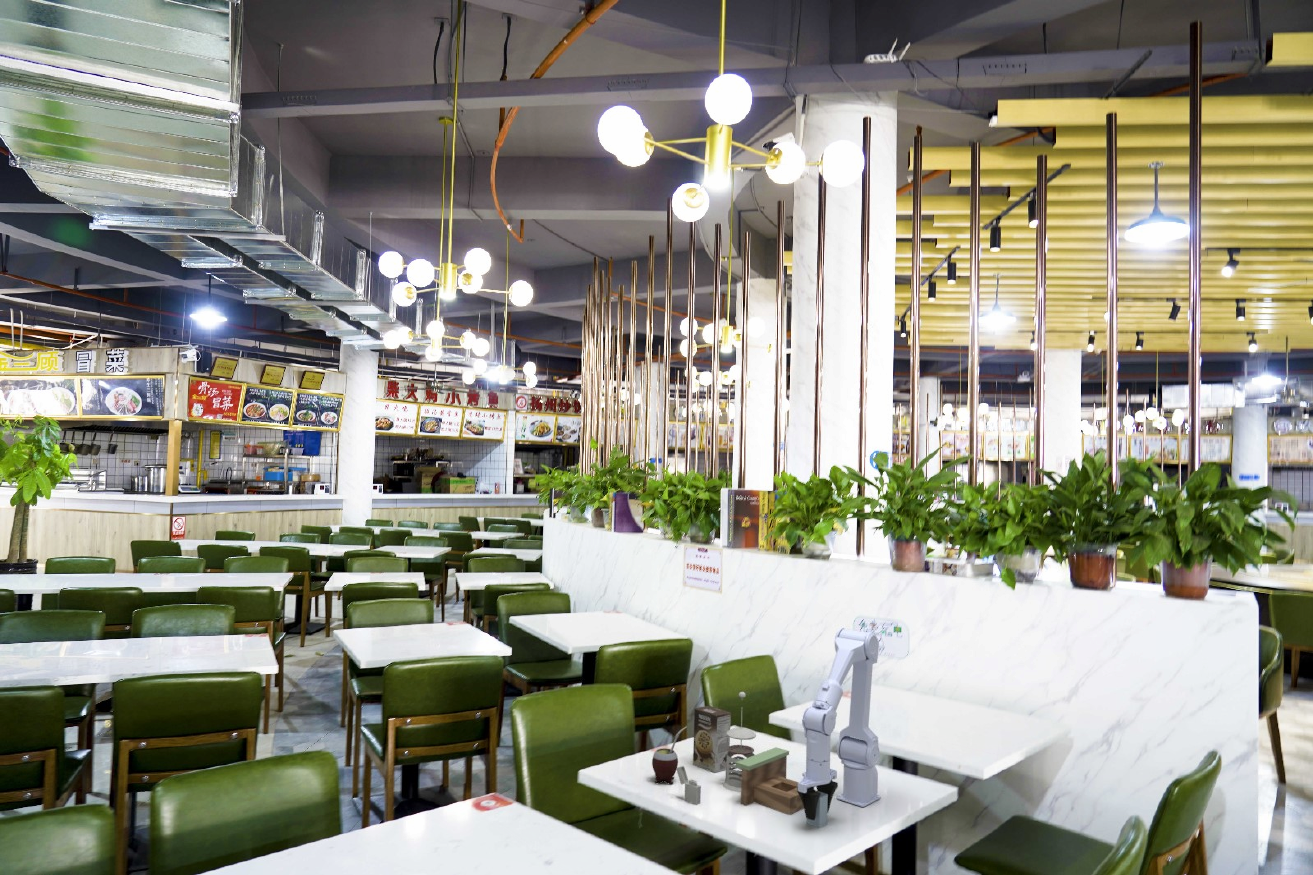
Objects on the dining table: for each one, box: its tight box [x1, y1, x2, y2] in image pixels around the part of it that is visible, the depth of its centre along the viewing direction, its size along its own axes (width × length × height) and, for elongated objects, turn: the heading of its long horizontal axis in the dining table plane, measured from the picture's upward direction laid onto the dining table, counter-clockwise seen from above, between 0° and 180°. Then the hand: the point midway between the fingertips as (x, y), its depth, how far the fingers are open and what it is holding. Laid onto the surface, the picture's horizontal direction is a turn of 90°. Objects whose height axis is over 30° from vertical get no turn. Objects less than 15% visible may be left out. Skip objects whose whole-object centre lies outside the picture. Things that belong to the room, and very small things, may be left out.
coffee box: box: [692, 705, 732, 774], centre depth 239 cm, size 9×6×16 cm
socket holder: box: [735, 746, 804, 816], centre depth 215 cm, size 18×14×10 cm
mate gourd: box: [651, 725, 688, 785], centre depth 227 cm, size 8×8×15 cm
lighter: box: [676, 765, 702, 806], centre depth 213 cm, size 7×2×8 cm, turn 48°
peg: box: [806, 789, 828, 829], centre depth 201 cm, size 4×4×7 cm
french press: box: [716, 691, 757, 793], centre depth 226 cm, size 10×12×25 cm
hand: (817, 815), depth 201 cm, fingers open, 5 cm apart
